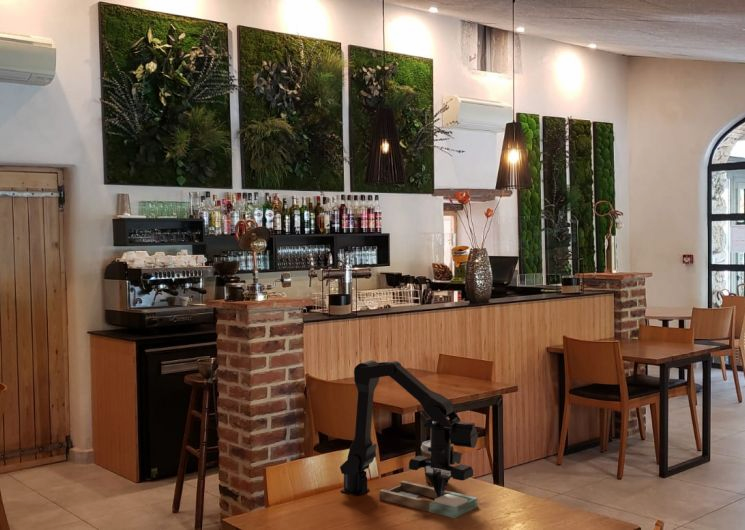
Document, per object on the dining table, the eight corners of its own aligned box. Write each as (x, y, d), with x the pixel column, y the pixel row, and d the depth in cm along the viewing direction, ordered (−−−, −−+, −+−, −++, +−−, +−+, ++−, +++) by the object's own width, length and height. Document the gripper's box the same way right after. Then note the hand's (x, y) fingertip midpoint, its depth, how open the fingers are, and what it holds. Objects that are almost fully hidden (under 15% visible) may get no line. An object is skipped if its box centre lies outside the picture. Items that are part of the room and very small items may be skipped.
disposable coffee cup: (449, 487, 250) (449, 448, 249) (418, 485, 252) (418, 446, 251) (452, 477, 259) (452, 440, 259) (423, 476, 261) (423, 439, 261)
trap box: (379, 499, 239) (379, 490, 239) (403, 488, 249) (403, 480, 248) (455, 518, 223) (455, 509, 223) (477, 506, 233) (477, 497, 233)
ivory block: (434, 511, 230) (434, 499, 230) (447, 505, 234) (447, 493, 234) (454, 517, 225) (454, 504, 225) (467, 511, 230) (467, 499, 229)
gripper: (483, 442, 233) (482, 496, 234) (428, 432, 244) (428, 484, 245) (463, 451, 224) (462, 507, 225) (407, 440, 236) (407, 493, 236)
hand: (440, 497), depth 233 cm, fingers closed
